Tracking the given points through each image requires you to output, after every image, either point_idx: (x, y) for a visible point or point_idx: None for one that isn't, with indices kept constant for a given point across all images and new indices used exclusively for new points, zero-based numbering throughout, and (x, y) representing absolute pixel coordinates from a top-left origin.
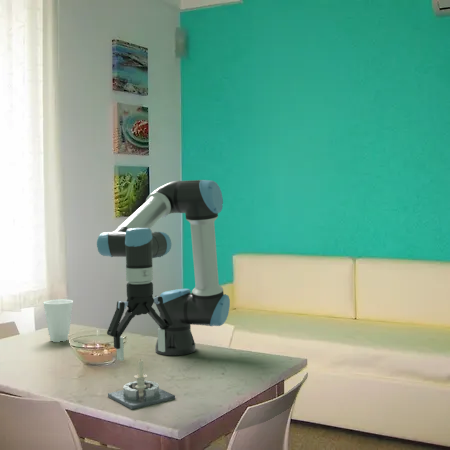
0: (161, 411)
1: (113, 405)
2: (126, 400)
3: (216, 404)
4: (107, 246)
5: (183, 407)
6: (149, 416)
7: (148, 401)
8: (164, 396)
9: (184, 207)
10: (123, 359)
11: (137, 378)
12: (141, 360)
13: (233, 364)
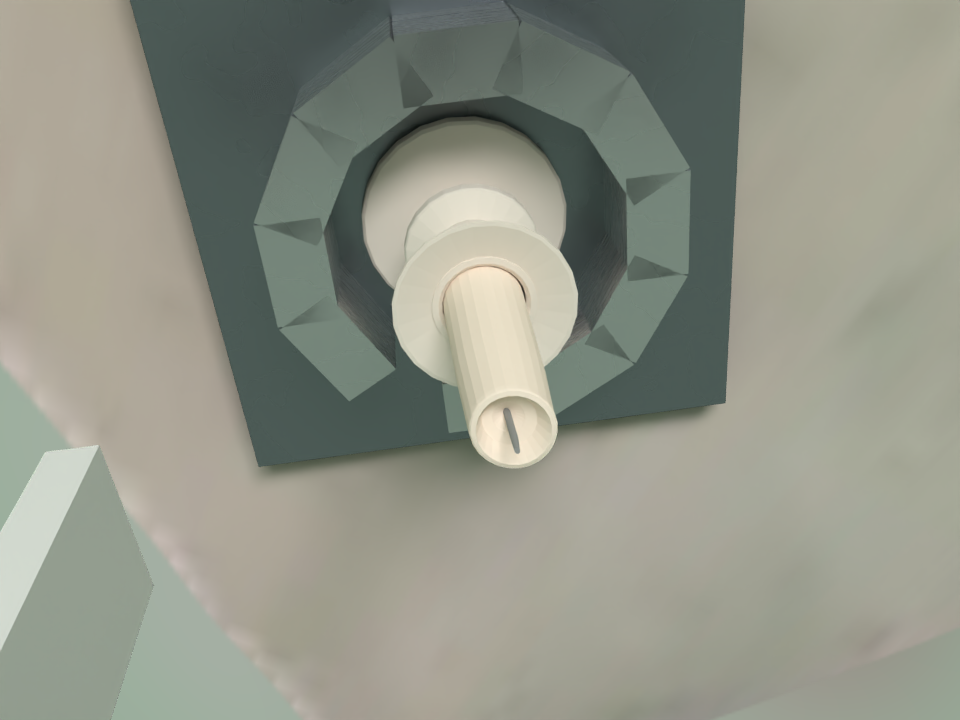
0: (464, 572)
1: (128, 266)
2: (259, 311)
3: (870, 614)
4: None
5: (648, 571)
6: (340, 617)
7: (440, 432)
8: (632, 382)
9: None
10: (142, 600)
11: (432, 311)
12: (541, 412)
13: None
